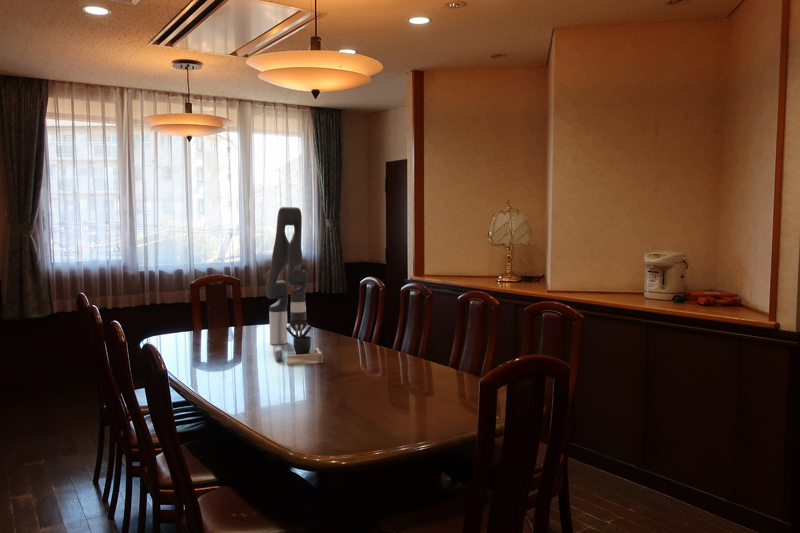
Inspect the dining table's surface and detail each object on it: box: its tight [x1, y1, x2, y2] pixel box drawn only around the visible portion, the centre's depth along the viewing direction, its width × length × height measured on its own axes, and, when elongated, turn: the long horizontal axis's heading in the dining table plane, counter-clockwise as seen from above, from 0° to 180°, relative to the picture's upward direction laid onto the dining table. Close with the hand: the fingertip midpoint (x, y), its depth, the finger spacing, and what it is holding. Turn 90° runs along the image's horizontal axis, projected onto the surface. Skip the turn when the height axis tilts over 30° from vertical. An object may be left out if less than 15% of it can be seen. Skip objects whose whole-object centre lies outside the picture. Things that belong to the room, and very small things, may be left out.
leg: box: [273, 344, 282, 361], centre depth 282 cm, size 14×3×4 cm, turn 15°
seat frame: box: [286, 347, 324, 366], centre depth 277 cm, size 15×16×4 cm
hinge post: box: [276, 349, 283, 363], centre depth 274 cm, size 2×2×5 cm
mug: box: [292, 335, 312, 355], centre depth 285 cm, size 8×12×10 cm
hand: (299, 345), depth 296 cm, fingers closed
